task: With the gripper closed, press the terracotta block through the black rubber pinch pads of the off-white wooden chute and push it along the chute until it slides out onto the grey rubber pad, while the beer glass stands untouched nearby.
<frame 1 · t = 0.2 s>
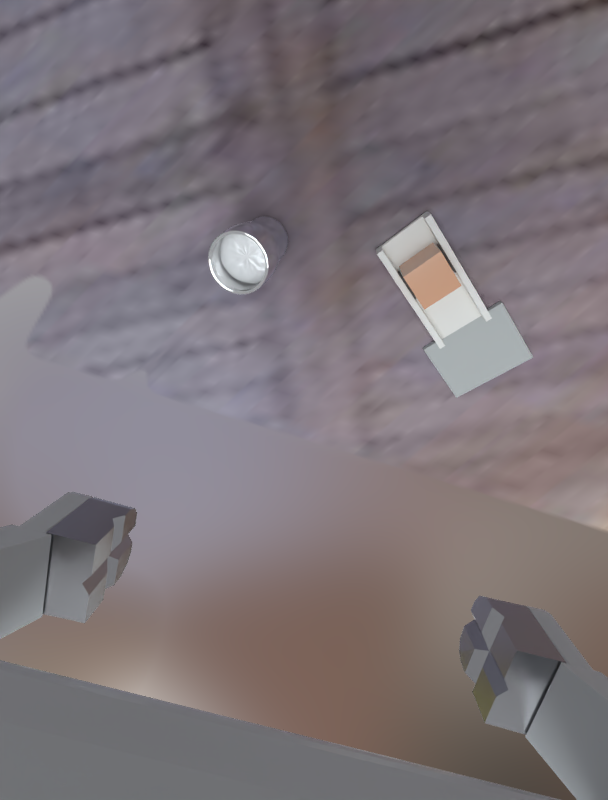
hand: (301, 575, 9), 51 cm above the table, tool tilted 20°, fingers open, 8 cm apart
chute: (431, 280, 55), on the table
beer glass: (266, 240, 55), on the table
block: (428, 275, 51), point 4 cm above the table, slide at 0.0 cm
pad: (476, 351, 59), on the table
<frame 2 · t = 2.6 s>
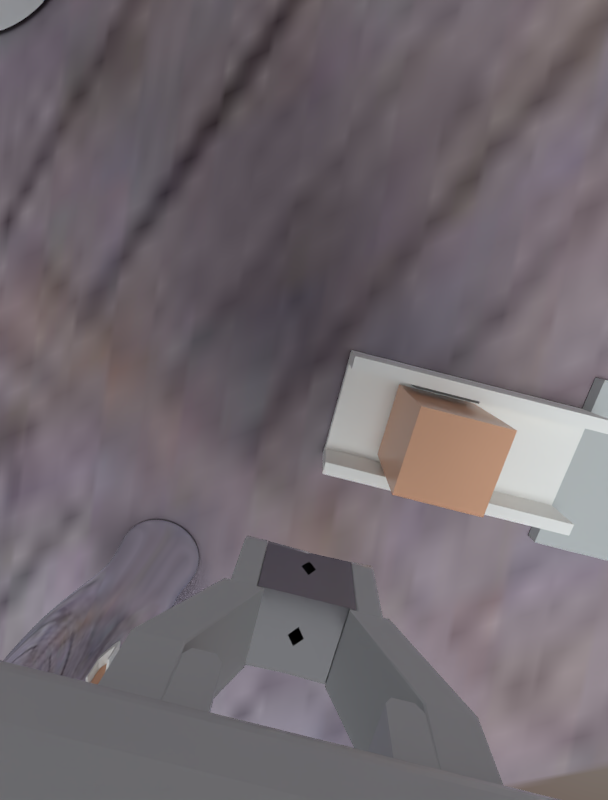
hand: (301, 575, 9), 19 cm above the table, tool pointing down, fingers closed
chute: (448, 431, 27), on the table
beer glass: (162, 552, 31), on the table
block: (436, 444, 23), point 4 cm above the table, slide at 0.0 cm
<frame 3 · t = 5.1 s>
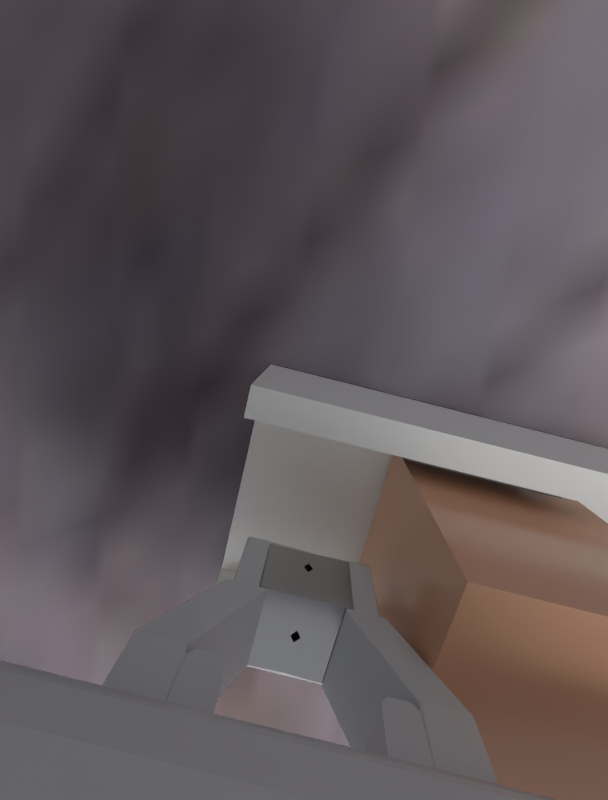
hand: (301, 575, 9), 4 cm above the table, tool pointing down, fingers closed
chute: (477, 531, 13), on the table
block: (490, 611, 9), point 4 cm above the table, slide at 0.7 cm, touching gripper
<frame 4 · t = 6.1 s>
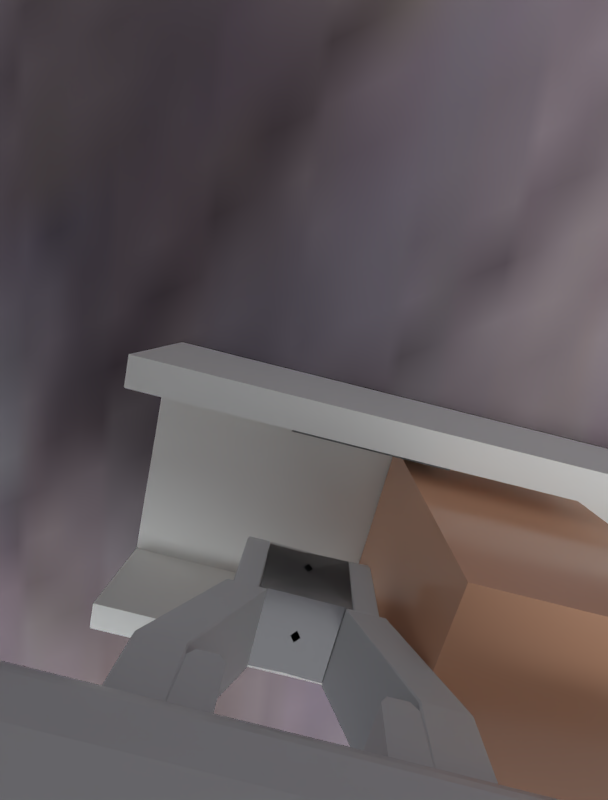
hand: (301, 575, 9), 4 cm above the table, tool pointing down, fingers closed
chute: (395, 510, 13), on the table
block: (490, 611, 9), point 4 cm above the table, slide at 3.6 cm, touching gripper
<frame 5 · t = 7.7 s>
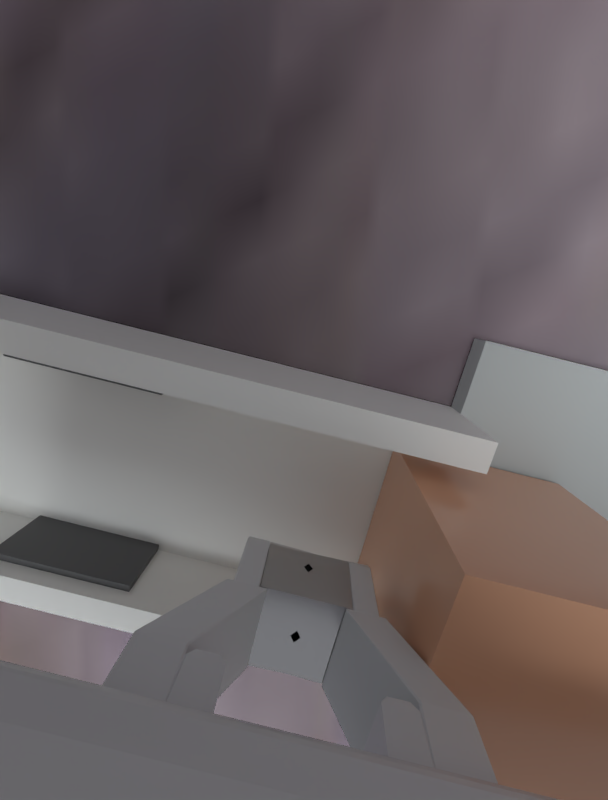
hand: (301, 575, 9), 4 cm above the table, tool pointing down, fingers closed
chute: (184, 455, 13), on the table
block: (488, 606, 9), point 4 cm above the table, slide at 10.9 cm, touching gripper
pad: (558, 548, 13), on the table
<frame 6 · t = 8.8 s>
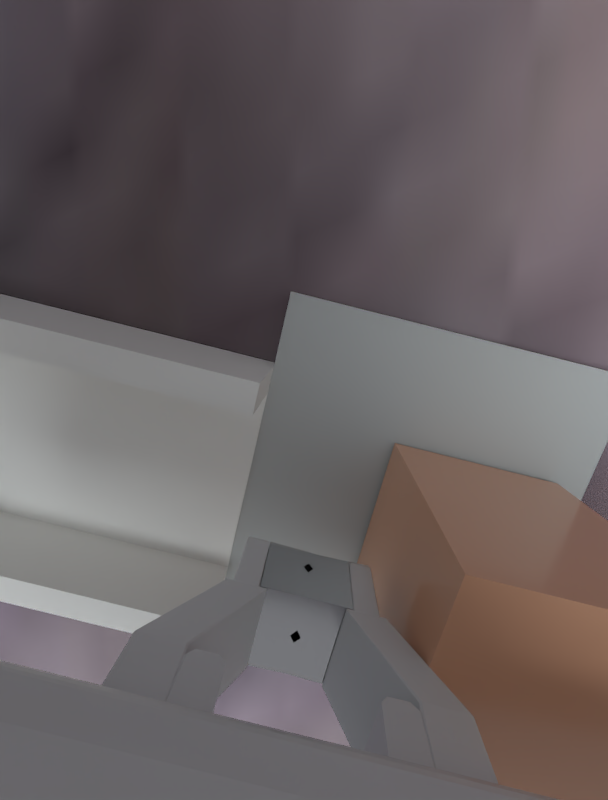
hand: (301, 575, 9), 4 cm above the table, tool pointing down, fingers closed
chute: (19, 414, 13), on the table
block: (488, 606, 9), point 4 cm above the table, slide at 16.5 cm, touching gripper
pad: (396, 508, 13), on the table
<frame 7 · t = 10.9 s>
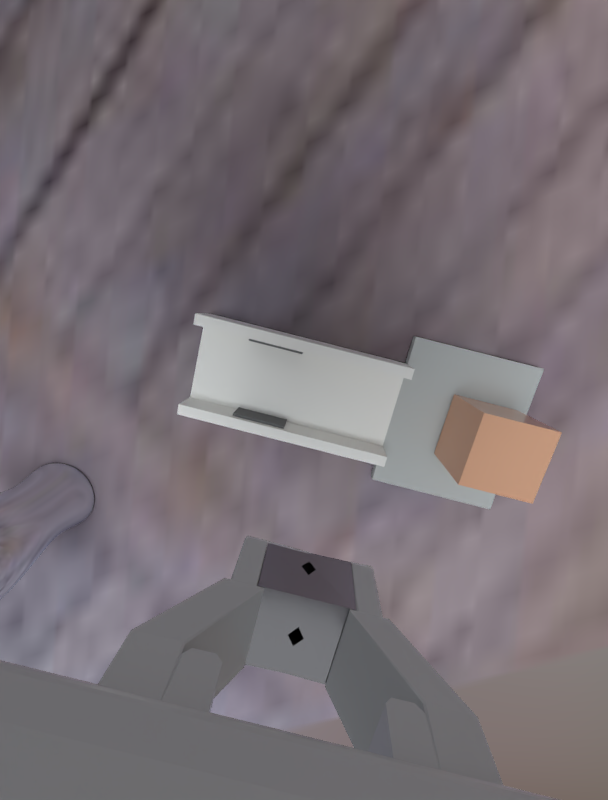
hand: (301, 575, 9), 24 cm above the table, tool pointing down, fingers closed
chute: (296, 384, 32), on the table
beer glass: (63, 493, 36), on the table
block: (490, 444, 28), point 4 cm above the table, slide at 16.6 cm
pad: (451, 423, 32), on the table
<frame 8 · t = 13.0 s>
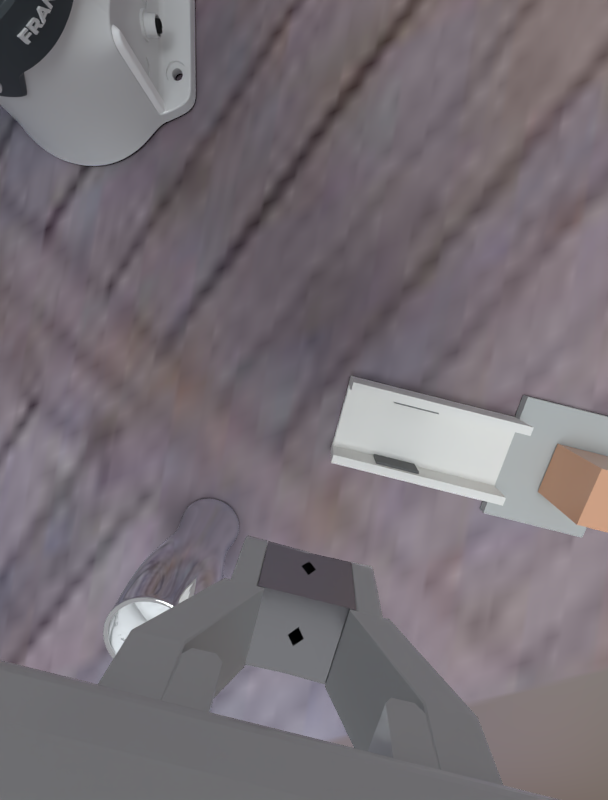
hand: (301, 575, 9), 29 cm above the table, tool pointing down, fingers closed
chute: (420, 433, 38), on the table
beer glass: (211, 523, 42), on the table
block: (594, 488, 34), point 4 cm above the table, slide at 16.6 cm
pad: (550, 466, 38), on the table
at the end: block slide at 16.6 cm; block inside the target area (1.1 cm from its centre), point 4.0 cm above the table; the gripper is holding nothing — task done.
